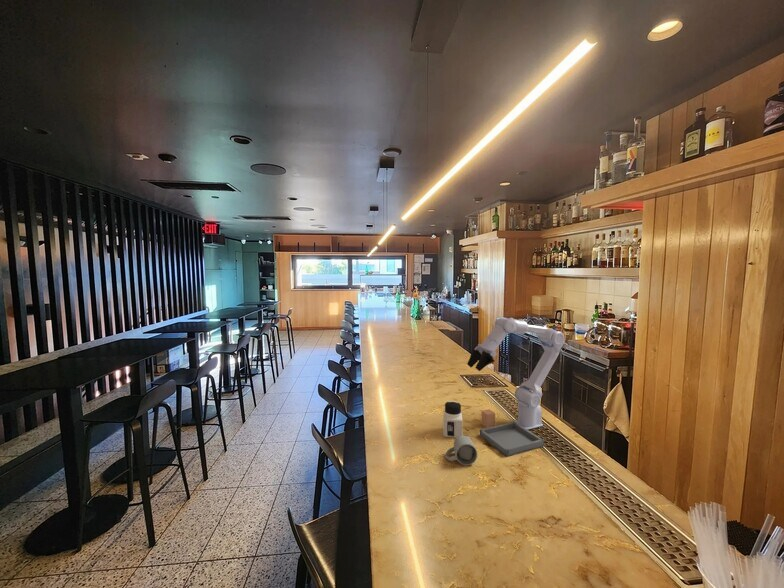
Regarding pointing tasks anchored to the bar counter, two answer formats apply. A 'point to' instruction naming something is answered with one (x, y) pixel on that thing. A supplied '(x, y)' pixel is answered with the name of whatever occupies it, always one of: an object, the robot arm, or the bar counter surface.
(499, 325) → the robot arm
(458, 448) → the ceramic mug
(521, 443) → the charcoal tray
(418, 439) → the bar counter surface
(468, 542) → the bar counter surface
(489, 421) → the terracotta block
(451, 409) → the container
